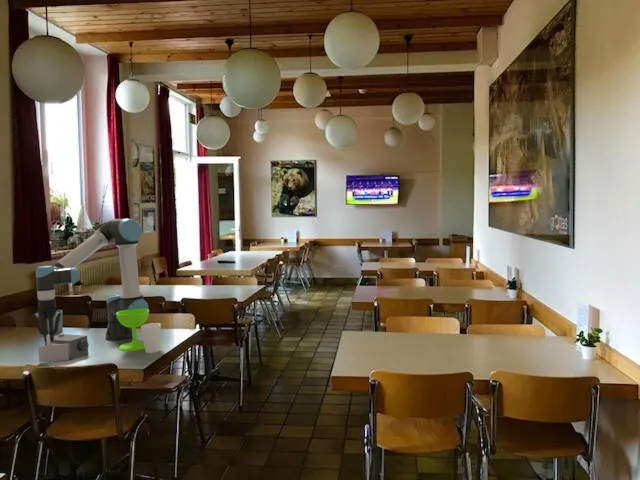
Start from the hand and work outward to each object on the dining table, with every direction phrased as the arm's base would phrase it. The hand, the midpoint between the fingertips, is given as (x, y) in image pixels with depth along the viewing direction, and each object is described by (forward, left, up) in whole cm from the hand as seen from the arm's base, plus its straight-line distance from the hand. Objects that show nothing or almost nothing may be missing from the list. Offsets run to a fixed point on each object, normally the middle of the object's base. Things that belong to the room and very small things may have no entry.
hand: (49, 348), depth 275 cm
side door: (-3, +3, -5) cm, 7 cm away
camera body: (-6, -6, -6) cm, 11 cm away
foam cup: (-46, -3, -6) cm, 47 cm away
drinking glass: (+20, -68, -6) cm, 71 cm away
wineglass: (-36, -15, -6) cm, 40 cm away
